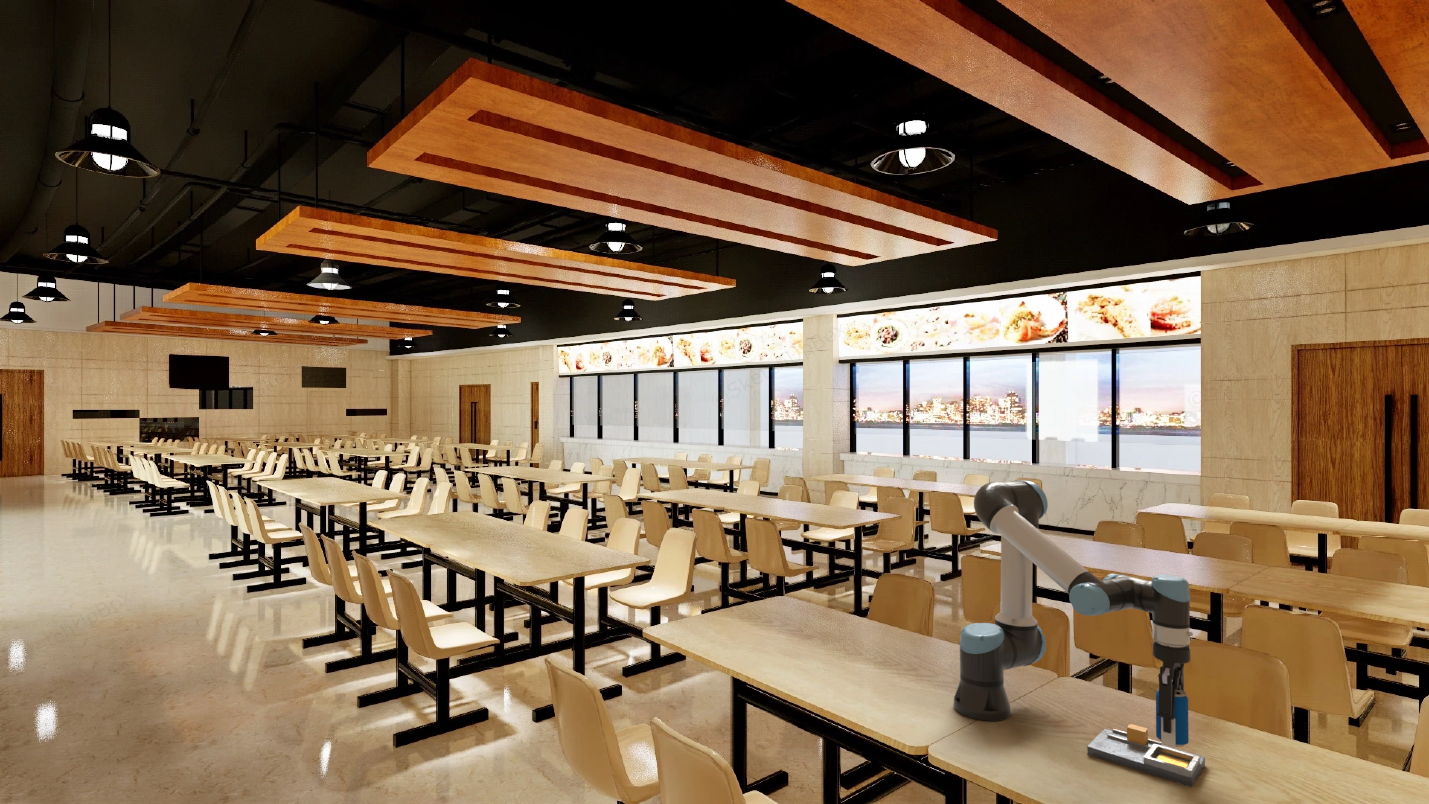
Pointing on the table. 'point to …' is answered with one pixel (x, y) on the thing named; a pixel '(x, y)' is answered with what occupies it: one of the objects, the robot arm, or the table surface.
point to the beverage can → (1176, 718)
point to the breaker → (1137, 734)
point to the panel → (1147, 757)
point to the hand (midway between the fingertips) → (1172, 740)
